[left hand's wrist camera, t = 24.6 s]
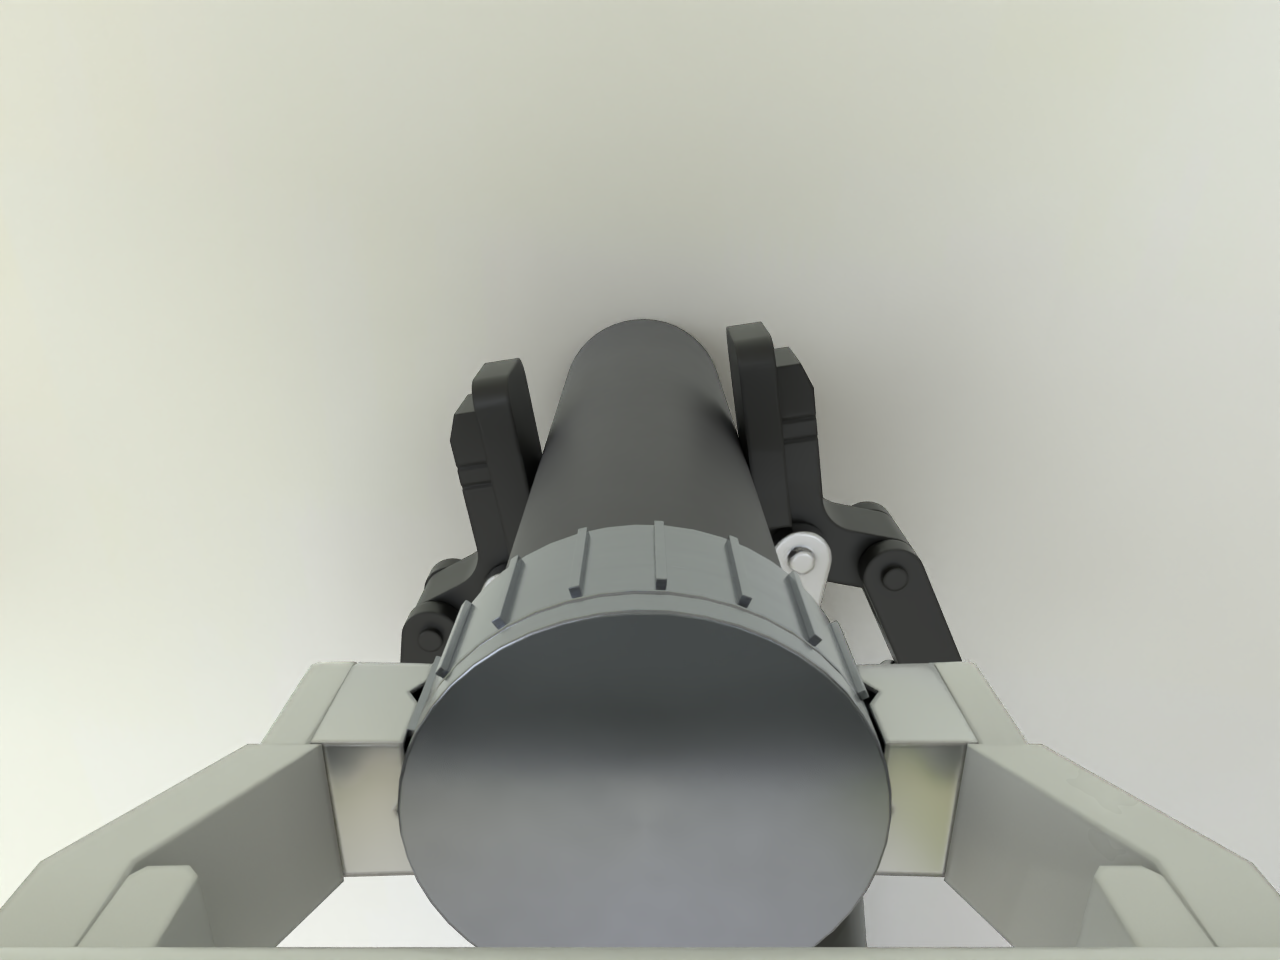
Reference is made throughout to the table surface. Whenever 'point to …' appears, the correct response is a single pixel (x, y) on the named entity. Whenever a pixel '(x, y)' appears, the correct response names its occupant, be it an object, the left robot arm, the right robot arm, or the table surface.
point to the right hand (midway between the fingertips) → (620, 354)
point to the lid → (644, 753)
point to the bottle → (643, 445)
